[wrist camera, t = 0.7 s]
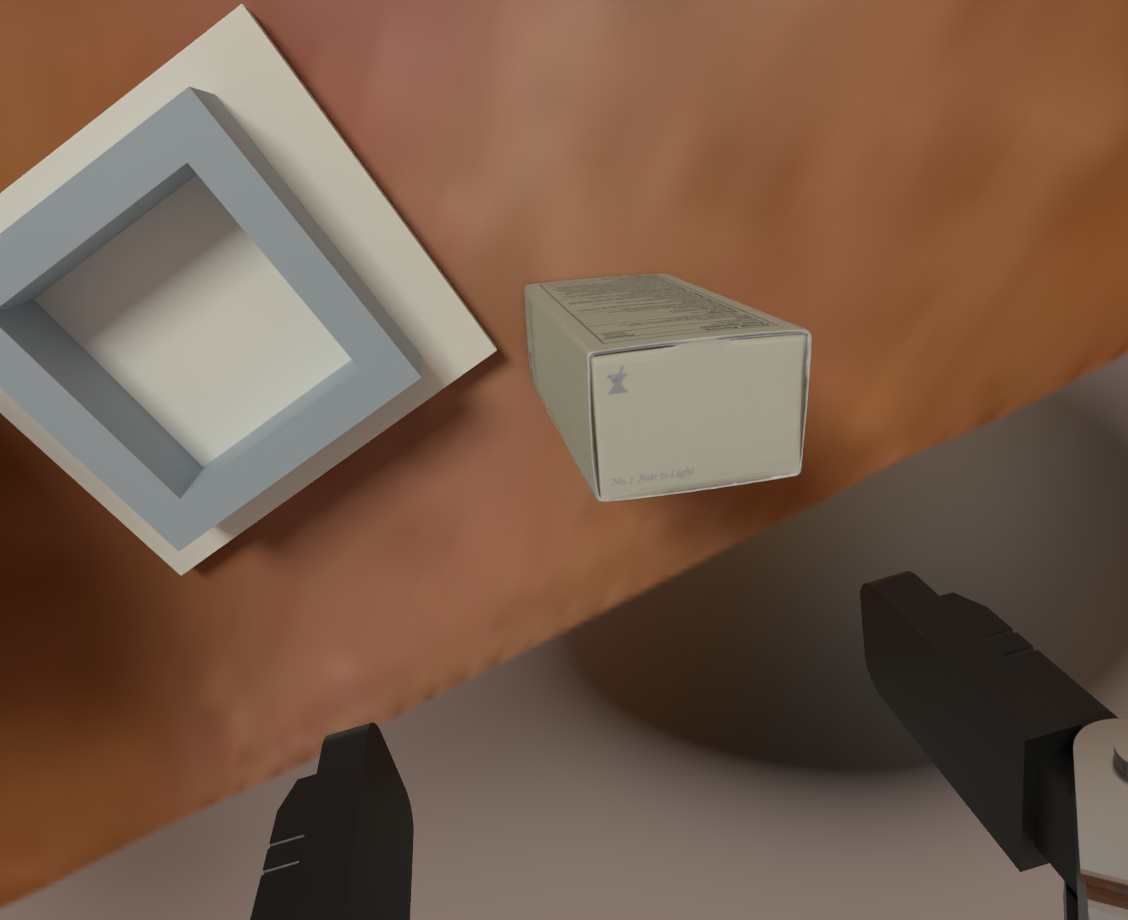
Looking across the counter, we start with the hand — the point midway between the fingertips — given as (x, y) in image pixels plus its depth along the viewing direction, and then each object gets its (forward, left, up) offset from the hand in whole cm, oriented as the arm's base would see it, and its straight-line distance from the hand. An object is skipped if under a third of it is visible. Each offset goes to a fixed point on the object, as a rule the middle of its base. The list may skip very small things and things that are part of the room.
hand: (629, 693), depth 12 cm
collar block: (+8, -8, -21) cm, 24 cm away
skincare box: (-4, +1, -21) cm, 21 cm away
